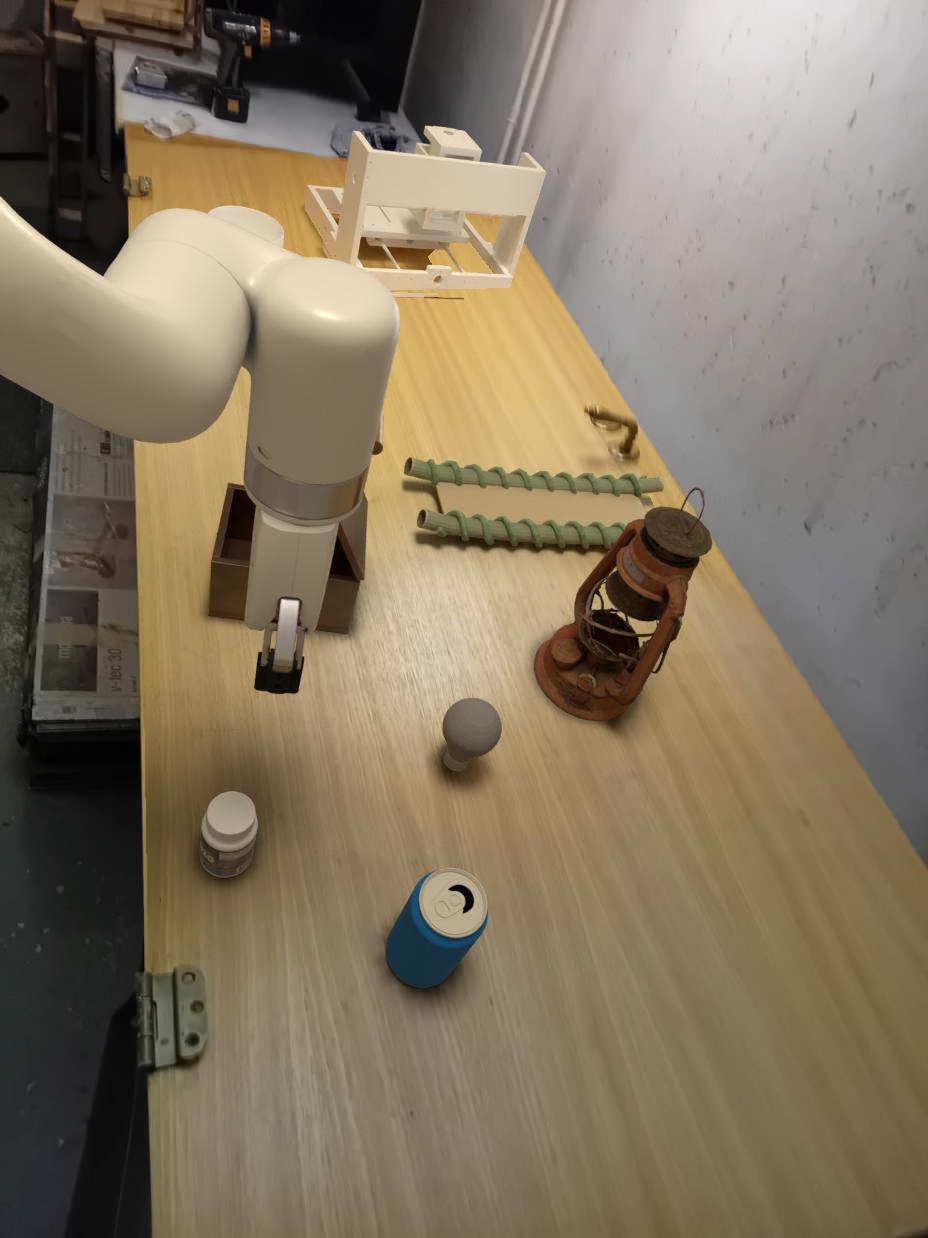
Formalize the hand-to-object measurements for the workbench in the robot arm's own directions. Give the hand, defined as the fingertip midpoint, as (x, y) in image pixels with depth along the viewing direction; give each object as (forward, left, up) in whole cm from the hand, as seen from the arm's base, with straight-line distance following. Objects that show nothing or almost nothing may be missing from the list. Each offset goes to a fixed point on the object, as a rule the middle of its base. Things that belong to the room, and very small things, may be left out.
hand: (281, 637), depth 63 cm
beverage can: (+16, -16, -23) cm, 32 cm away
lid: (+4, +26, -6) cm, 27 cm away
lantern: (+37, +18, -23) cm, 47 cm away
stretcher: (+35, +46, -23) cm, 62 cm away
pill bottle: (-2, -8, -23) cm, 24 cm away
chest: (0, +26, -23) cm, 35 cm away
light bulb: (+20, +4, -23) cm, 31 cm away
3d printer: (+15, +118, -23) cm, 121 cm away
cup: (-13, +88, -23) cm, 92 cm away
